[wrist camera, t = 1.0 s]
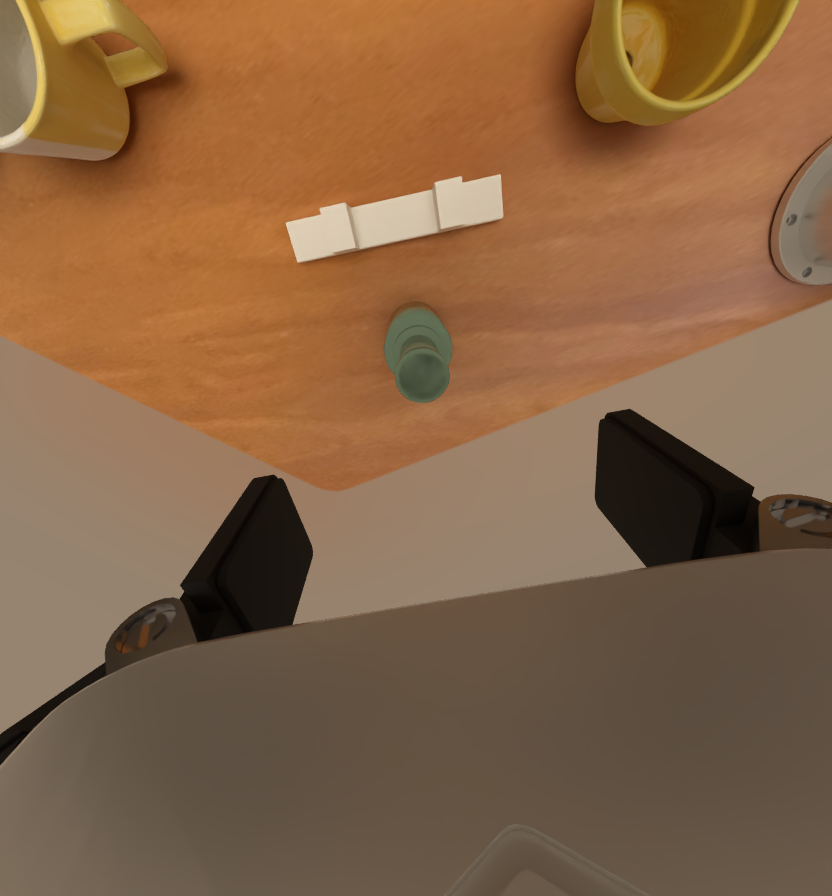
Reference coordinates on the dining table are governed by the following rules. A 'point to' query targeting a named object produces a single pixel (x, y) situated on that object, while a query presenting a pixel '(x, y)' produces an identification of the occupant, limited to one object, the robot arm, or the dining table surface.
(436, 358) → the green bottle
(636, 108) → the plant pot
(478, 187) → the u rest
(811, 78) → the dining table surface
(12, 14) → the mug
